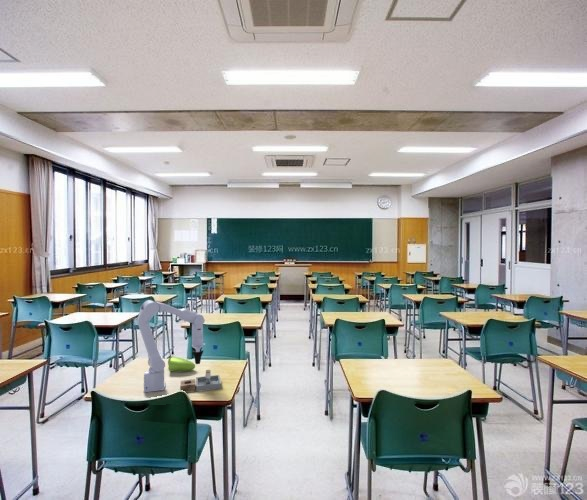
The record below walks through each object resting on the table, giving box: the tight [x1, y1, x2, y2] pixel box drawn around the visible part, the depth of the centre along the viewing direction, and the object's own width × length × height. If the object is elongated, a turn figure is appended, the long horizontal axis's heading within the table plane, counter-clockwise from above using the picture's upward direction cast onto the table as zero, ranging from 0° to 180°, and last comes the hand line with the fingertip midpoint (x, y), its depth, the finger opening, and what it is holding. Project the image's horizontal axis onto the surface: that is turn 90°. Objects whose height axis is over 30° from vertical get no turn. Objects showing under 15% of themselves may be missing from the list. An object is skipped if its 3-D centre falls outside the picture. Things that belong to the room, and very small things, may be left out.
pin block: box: [179, 378, 196, 392], centre depth 168 cm, size 7×7×3 cm
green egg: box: [167, 355, 196, 373], centre depth 193 cm, size 8×12×20 cm
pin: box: [205, 369, 212, 384], centre depth 172 cm, size 2×2×7 cm
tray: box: [195, 374, 222, 392], centre depth 172 cm, size 12×12×2 cm
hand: (197, 361), depth 180 cm, fingers open, 7 cm apart
